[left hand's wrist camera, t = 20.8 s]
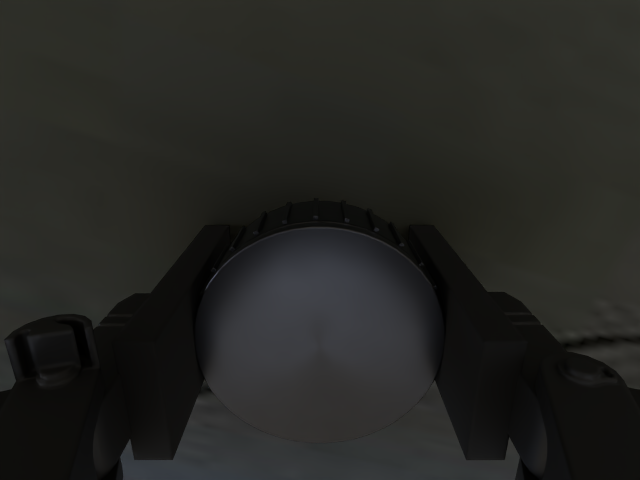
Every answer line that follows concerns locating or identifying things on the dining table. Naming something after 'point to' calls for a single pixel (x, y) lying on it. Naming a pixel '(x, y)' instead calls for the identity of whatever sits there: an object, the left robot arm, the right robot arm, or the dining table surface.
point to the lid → (319, 324)
